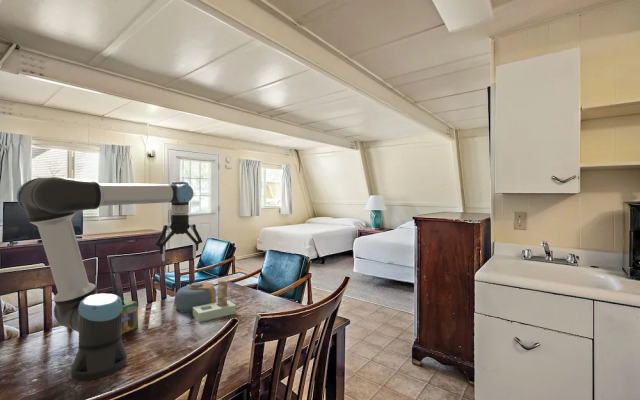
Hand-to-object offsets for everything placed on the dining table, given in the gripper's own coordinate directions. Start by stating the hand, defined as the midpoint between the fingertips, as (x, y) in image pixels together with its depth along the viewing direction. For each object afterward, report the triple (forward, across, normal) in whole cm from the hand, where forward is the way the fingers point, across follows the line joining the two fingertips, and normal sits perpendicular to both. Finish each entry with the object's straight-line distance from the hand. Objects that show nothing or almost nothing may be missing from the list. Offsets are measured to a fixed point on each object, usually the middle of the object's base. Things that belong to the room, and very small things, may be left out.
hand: (179, 259), depth 141 cm
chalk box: (+29, -22, +2) cm, 36 cm away
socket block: (+28, +16, -4) cm, 33 cm away
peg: (+28, +20, -4) cm, 35 cm away
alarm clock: (+29, +12, +13) cm, 34 cm away
